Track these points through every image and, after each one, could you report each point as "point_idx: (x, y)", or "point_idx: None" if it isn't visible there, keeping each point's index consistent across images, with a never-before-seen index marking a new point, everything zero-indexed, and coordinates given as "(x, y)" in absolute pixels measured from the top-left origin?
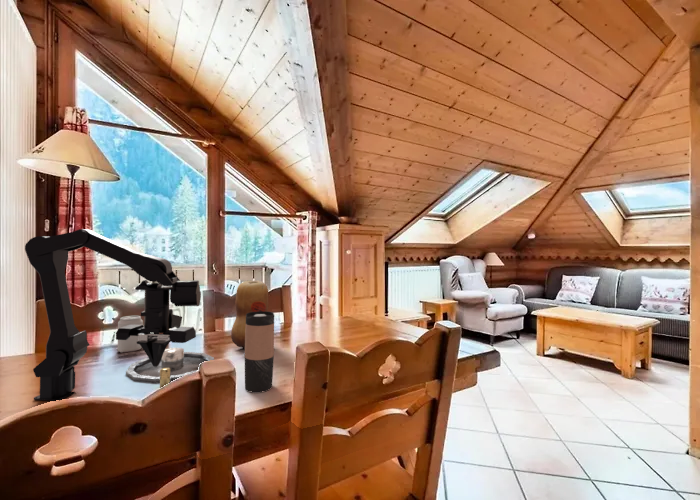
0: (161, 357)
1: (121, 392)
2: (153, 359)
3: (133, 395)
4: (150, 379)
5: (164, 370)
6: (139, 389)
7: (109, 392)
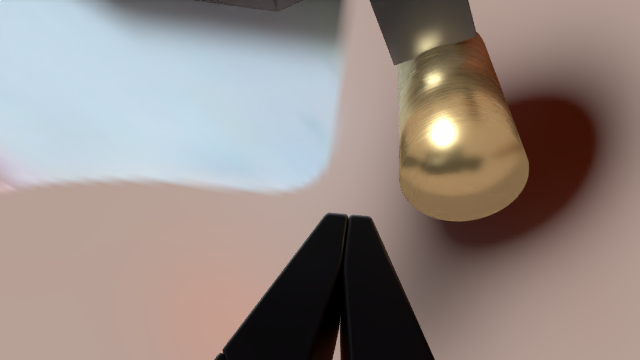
0: (407, 307)
1: (153, 136)
2: (331, 356)
3: (270, 171)
4: (234, 2)
5: (469, 209)
6: (231, 81)
7: (80, 140)
